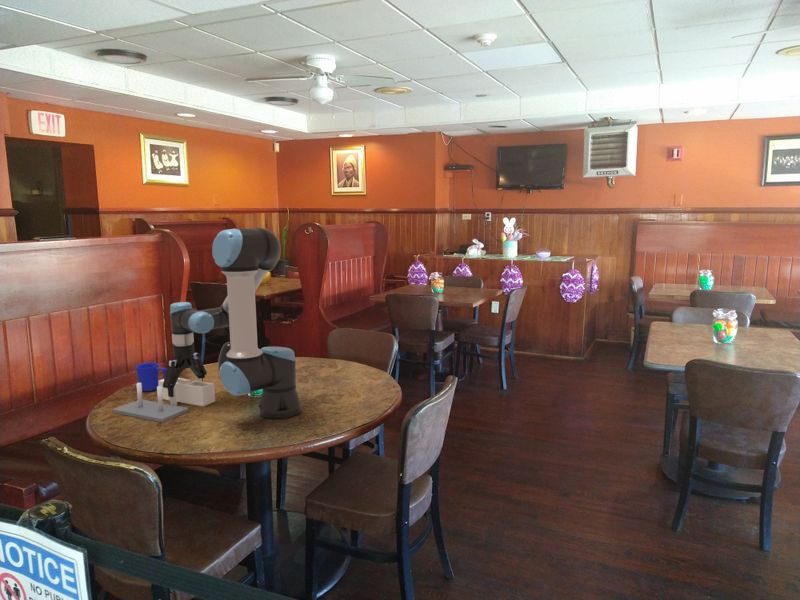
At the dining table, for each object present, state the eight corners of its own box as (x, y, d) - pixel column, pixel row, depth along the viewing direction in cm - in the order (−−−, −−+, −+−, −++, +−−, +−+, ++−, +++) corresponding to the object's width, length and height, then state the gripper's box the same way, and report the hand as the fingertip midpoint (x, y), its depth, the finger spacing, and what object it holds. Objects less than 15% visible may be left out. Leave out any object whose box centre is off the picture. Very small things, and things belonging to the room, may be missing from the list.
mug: (160, 393, 223) (158, 369, 222) (133, 392, 226) (131, 367, 224) (173, 387, 231) (171, 363, 230) (146, 385, 234) (144, 362, 232)
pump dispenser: (239, 380, 241) (237, 344, 239) (215, 380, 241) (213, 345, 239) (246, 373, 251) (244, 339, 249) (222, 373, 251) (220, 339, 249)
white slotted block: (215, 401, 214) (214, 382, 213) (203, 406, 208) (202, 386, 207) (171, 393, 223) (170, 375, 222) (159, 398, 218) (158, 379, 217)
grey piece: (189, 411, 204) (187, 384, 202) (162, 422, 193) (160, 394, 191) (140, 402, 214) (138, 376, 212) (112, 412, 203) (110, 385, 201)
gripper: (199, 336, 225) (202, 389, 228) (149, 350, 203) (153, 408, 206) (214, 338, 222) (217, 391, 225) (164, 352, 200) (168, 411, 203)
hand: (186, 399), depth 216 cm, fingers open, 12 cm apart
